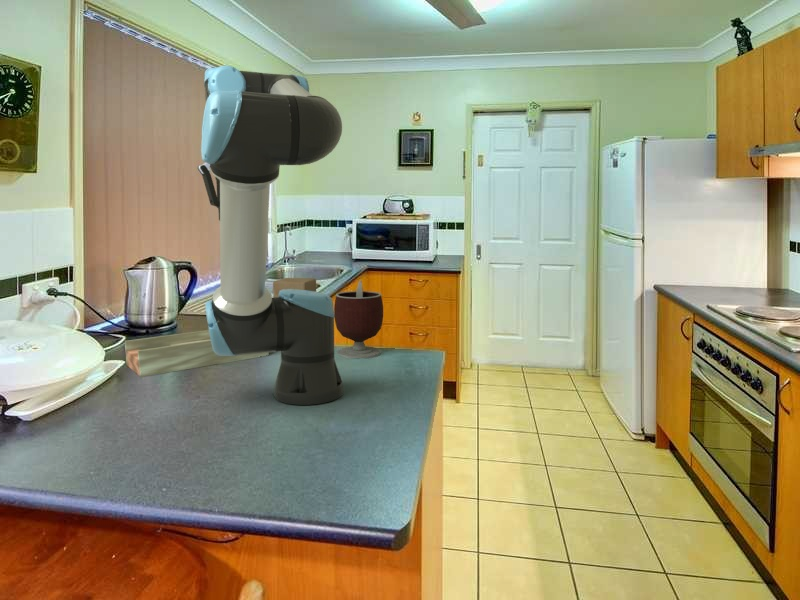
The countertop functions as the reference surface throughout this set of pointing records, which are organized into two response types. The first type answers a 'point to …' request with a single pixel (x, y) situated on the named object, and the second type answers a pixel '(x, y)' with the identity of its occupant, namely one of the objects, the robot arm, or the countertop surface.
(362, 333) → the mate gourd
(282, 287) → the wooden block
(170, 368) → the channel runway
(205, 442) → the countertop surface
